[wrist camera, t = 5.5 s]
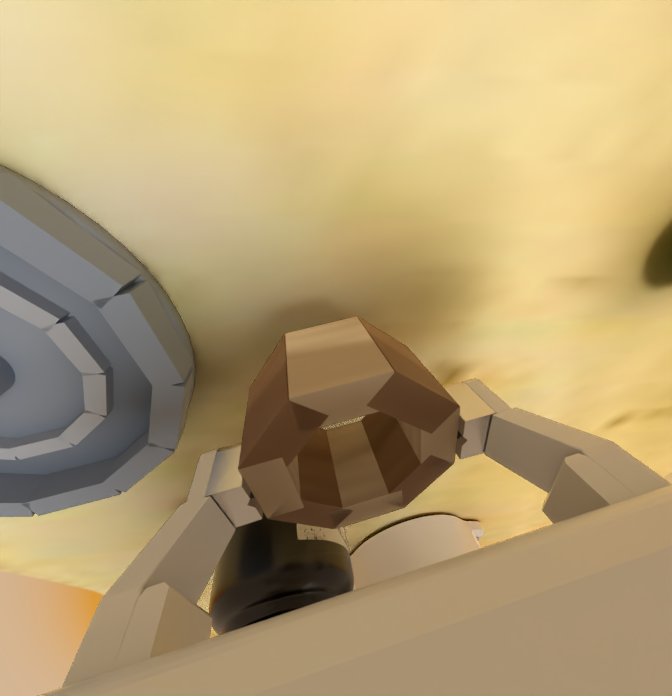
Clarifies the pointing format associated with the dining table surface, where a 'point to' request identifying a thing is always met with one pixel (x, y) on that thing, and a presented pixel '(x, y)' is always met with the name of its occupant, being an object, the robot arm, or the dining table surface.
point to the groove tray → (80, 358)
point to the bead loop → (344, 427)
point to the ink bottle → (277, 572)
